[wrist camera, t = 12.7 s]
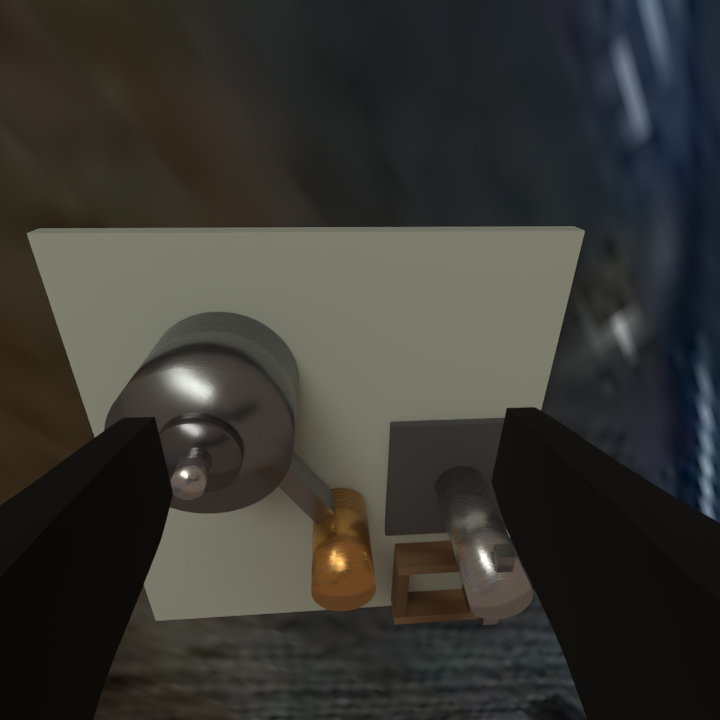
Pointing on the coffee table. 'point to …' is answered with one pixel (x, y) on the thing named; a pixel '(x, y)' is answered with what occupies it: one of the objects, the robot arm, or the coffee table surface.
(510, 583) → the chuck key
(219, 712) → the coffee table surface
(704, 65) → the coffee table surface
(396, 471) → the rubber pad
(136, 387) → the cylinder
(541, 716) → the coffee table surface
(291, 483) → the lever
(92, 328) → the board
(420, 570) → the frame
